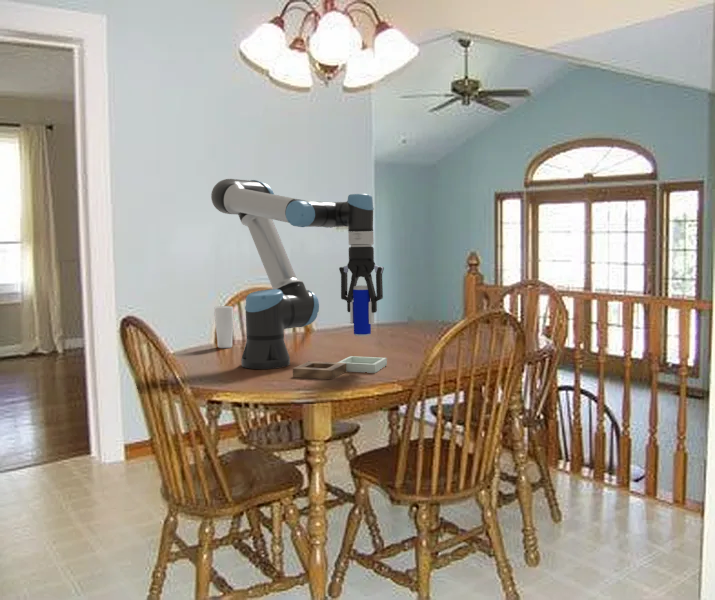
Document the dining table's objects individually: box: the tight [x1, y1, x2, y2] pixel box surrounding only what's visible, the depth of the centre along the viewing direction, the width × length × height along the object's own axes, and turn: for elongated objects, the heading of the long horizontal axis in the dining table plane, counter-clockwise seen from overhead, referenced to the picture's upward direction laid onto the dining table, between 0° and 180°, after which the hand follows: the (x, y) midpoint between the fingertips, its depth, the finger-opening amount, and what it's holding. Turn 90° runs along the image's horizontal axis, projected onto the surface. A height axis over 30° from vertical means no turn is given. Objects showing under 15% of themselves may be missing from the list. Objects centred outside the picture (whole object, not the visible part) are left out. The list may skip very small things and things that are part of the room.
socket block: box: [292, 360, 347, 380], centre depth 203 cm, size 12×12×2 cm
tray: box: [336, 355, 388, 374], centre depth 212 cm, size 12×12×2 cm
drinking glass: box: [214, 305, 234, 349], centre depth 256 cm, size 7×7×15 cm
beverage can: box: [353, 285, 372, 337], centre depth 210 cm, size 5×5×15 cm
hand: (362, 323), depth 211 cm, fingers closed on beverage can, 5 cm apart
